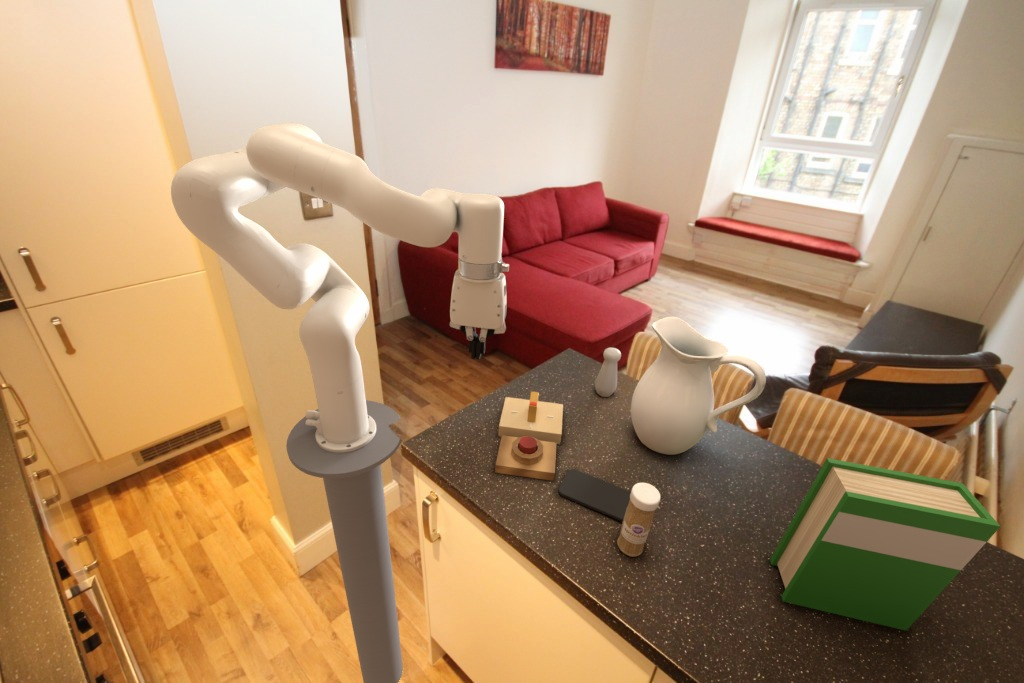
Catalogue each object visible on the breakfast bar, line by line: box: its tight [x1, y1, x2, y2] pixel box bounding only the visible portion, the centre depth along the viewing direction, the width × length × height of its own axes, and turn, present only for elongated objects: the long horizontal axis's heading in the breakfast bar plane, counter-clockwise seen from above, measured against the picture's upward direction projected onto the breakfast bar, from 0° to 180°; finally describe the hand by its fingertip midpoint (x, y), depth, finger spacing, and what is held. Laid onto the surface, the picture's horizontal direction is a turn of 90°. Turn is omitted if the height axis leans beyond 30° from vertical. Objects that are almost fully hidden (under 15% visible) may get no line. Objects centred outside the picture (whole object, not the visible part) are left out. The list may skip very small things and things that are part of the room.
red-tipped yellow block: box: [527, 391, 540, 422], centre depth 102 cm, size 6×2×5 cm, turn 173°
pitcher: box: [630, 316, 767, 456], centre depth 94 cm, size 24×17×28 cm
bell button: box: [519, 436, 537, 454], centre depth 92 cm, size 4×4×2 cm
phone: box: [558, 468, 631, 523], centre depth 87 cm, size 7×1×15 cm
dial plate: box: [497, 396, 564, 445], centre depth 104 cm, size 14×11×3 cm
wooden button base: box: [494, 435, 557, 482], centre depth 93 cm, size 12×9×4 cm
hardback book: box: [769, 457, 1001, 631], centre depth 67 cm, size 18×7×24 cm, turn 78°
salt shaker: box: [594, 347, 622, 398], centre depth 115 cm, size 6×6×13 cm
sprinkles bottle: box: [616, 482, 662, 558], centre depth 75 cm, size 5×5×13 cm
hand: (476, 355), depth 88 cm, fingers closed
